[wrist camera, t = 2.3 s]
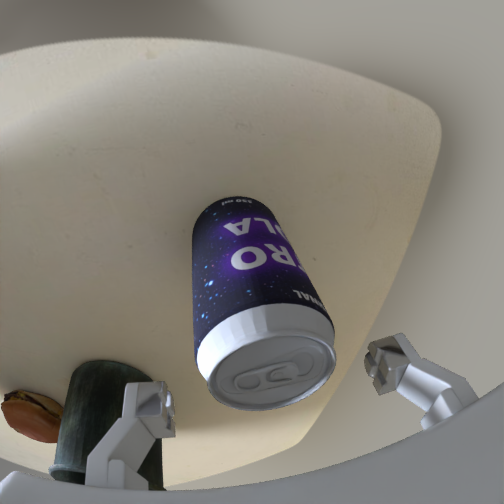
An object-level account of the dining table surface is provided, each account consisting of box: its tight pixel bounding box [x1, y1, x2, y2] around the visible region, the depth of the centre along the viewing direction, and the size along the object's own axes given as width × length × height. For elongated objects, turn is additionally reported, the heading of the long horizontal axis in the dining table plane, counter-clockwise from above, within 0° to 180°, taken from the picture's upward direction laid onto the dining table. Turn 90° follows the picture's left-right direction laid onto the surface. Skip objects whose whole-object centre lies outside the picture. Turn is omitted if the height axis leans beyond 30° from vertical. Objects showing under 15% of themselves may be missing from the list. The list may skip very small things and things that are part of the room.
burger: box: [1, 390, 64, 443], centre depth 26 cm, size 10×9×5 cm
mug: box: [49, 361, 167, 491], centre depth 23 cm, size 11×15×12 cm
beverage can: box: [192, 196, 336, 411], centre depth 16 cm, size 6×6×12 cm
